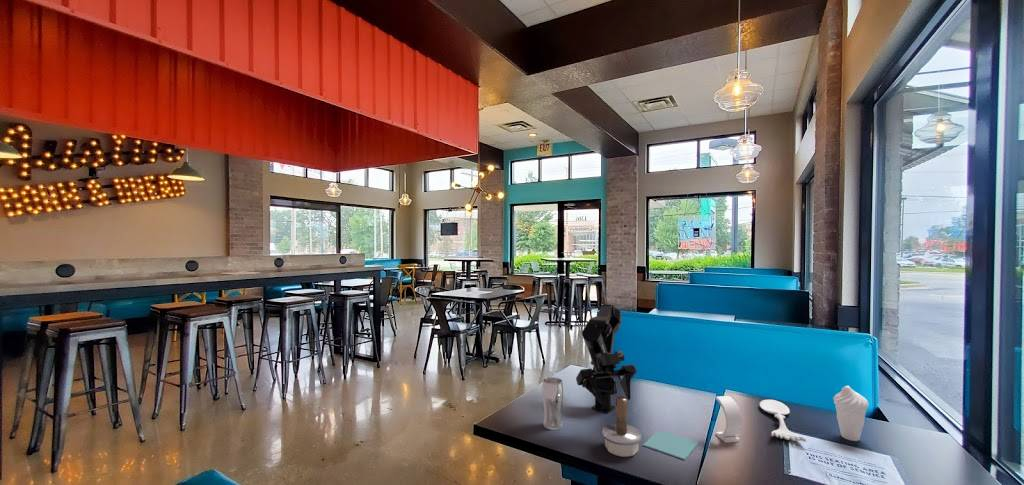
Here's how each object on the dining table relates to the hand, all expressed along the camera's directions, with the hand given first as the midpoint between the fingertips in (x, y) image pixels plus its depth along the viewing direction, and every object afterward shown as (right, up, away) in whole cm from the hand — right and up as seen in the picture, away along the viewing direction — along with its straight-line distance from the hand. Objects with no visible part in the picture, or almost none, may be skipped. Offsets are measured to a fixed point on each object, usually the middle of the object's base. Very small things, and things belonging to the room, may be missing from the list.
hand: (615, 401), depth 123 cm
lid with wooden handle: (+1, -9, -4) cm, 9 cm away
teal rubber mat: (+16, -13, -1) cm, 20 cm away
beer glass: (-18, -13, +12) cm, 25 cm away
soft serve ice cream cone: (+73, -12, +2) cm, 74 cm away
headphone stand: (+35, -13, +2) cm, 37 cm away
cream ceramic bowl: (+1, -13, -4) cm, 13 cm away
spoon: (+57, -13, +12) cm, 60 cm away
